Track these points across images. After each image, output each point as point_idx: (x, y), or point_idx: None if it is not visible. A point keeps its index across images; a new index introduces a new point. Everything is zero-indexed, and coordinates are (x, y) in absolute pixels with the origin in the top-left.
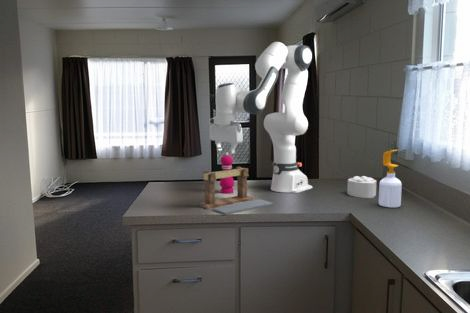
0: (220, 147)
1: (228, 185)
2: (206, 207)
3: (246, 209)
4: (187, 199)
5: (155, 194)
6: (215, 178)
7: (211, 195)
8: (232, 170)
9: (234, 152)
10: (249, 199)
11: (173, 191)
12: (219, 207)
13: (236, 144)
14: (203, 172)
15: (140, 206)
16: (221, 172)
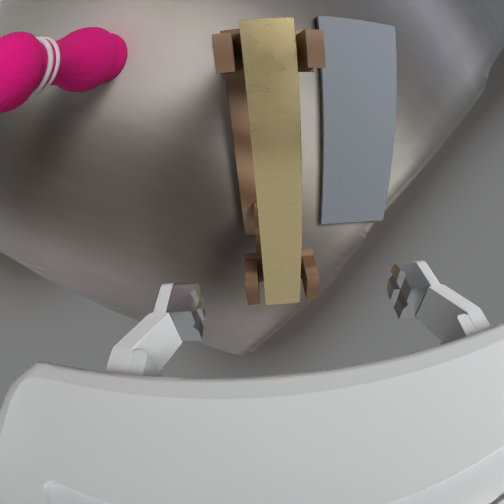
0: (193, 322)
1: (115, 61)
2: None
3: (391, 143)
4: (148, 225)
5: (69, 270)
6: (313, 260)
7: None
8: (287, 144)
9: (424, 265)
10: None
11: (44, 222)
12: (326, 203)
13: (483, 319)
14: (250, 301)
15: None
16: (301, 233)
